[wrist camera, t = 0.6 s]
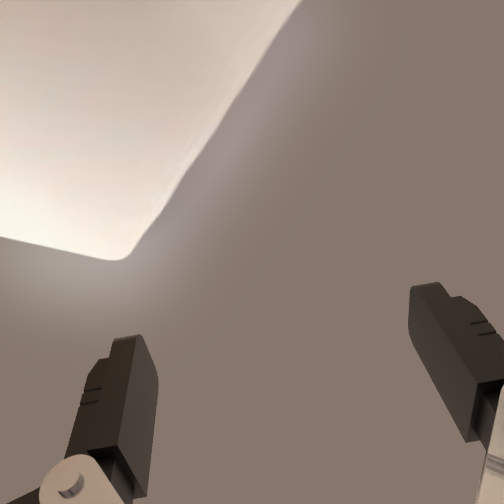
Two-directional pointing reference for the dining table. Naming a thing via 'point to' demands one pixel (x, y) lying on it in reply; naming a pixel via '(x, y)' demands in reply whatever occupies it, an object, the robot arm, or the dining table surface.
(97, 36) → the dining table surface
